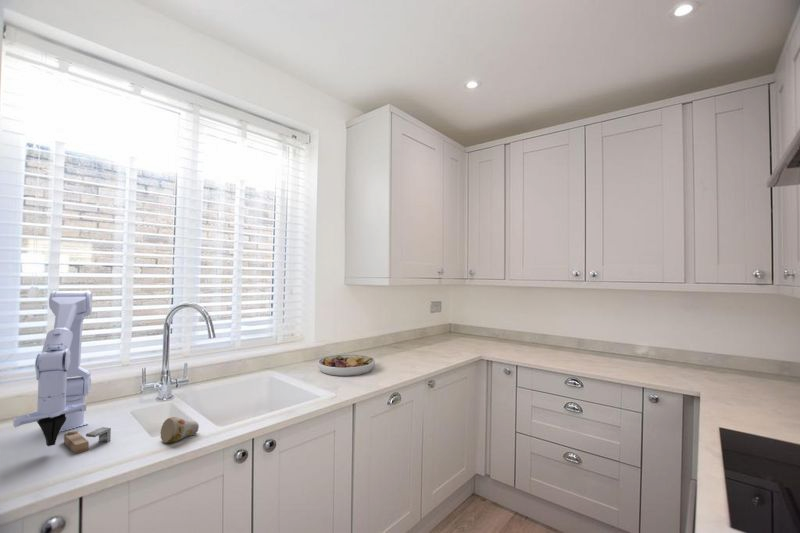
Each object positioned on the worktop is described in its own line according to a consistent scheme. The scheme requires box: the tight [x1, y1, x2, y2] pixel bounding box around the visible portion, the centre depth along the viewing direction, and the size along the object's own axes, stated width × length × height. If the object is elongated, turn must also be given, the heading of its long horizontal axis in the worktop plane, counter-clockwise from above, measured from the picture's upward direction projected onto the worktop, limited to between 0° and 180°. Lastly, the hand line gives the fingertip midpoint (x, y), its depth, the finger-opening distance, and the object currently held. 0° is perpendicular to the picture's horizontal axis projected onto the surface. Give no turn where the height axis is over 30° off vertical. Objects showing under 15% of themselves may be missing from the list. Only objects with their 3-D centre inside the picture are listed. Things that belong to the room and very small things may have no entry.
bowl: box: [317, 354, 376, 377], centre depth 195 cm, size 30×30×8 cm
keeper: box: [85, 426, 112, 443], centre depth 108 cm, size 3×5×4 cm, turn 169°
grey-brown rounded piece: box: [160, 416, 200, 444], centre depth 112 cm, size 8×10×10 cm
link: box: [63, 429, 90, 455], centre depth 106 cm, size 12×3×3 cm, turn 54°
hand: (50, 444), depth 102 cm, fingers closed
